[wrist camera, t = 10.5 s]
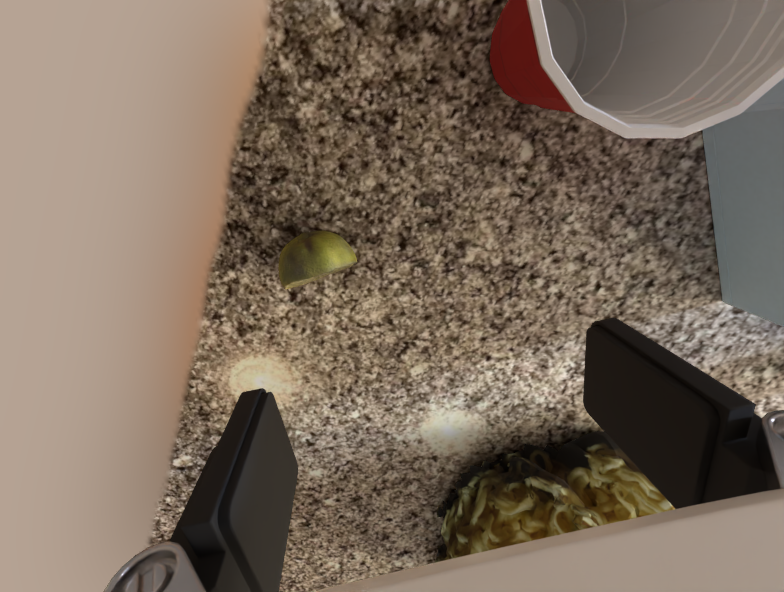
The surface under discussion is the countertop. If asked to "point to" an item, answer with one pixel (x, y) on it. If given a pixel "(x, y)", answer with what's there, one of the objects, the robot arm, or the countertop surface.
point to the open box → (750, 205)
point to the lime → (313, 258)
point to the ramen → (545, 496)
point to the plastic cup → (640, 60)
